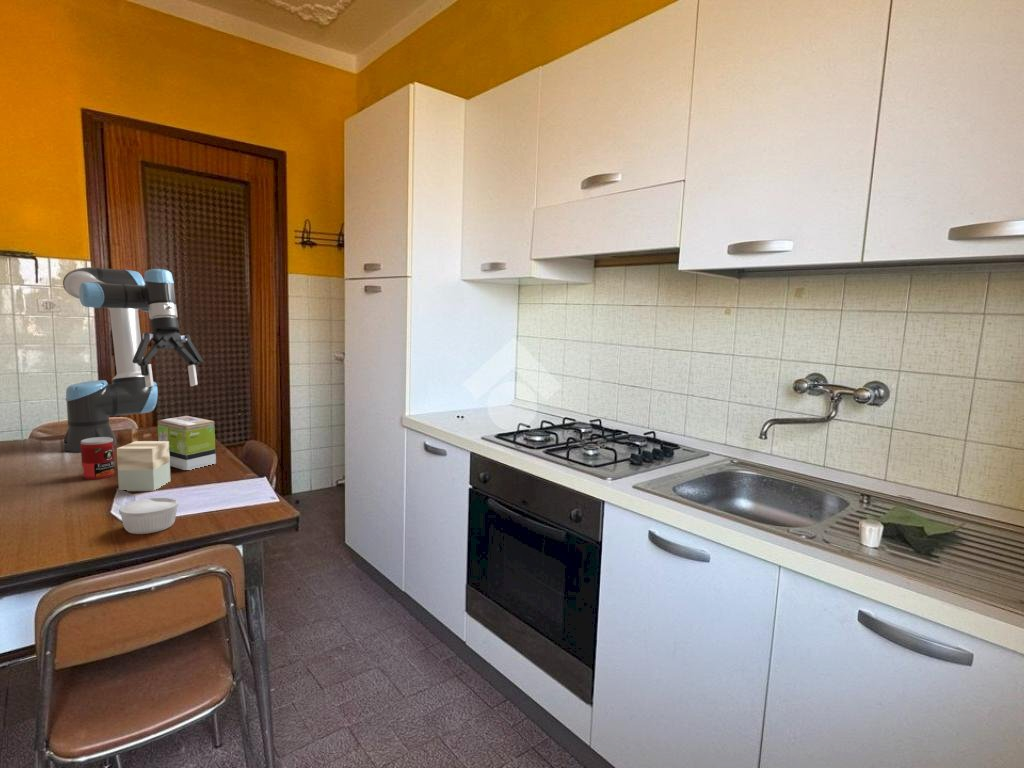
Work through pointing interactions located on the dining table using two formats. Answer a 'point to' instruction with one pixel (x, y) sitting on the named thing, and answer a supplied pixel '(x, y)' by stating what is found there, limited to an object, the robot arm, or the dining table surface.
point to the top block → (143, 455)
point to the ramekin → (149, 515)
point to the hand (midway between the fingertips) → (172, 386)
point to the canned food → (97, 457)
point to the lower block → (144, 478)
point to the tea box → (188, 441)
